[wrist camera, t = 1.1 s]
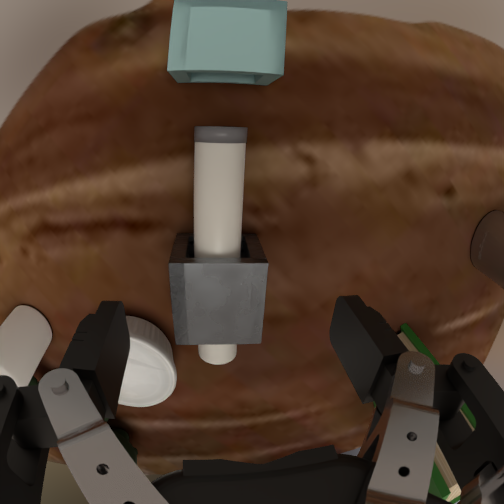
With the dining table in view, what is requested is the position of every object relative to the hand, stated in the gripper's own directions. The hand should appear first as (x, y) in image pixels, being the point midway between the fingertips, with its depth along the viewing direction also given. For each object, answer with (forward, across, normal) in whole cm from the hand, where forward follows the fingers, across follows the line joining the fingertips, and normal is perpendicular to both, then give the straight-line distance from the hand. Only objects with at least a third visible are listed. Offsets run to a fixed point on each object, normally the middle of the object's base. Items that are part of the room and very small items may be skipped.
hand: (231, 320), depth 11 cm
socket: (+18, 0, -14) cm, 23 cm away
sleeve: (+18, 0, +8) cm, 20 cm away
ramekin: (+19, +10, +18) cm, 28 cm away
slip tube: (+18, 0, +4) cm, 19 cm away
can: (+19, +24, +15) cm, 34 cm away
